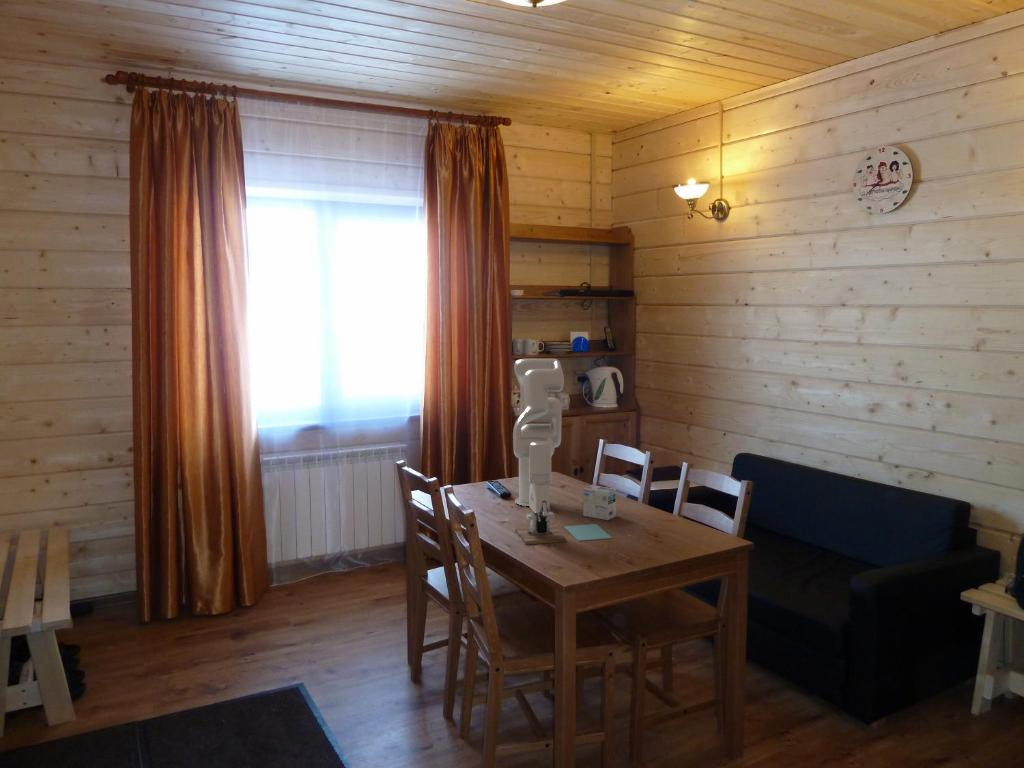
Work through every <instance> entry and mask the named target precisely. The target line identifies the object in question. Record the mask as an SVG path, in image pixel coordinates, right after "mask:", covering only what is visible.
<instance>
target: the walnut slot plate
mask: <svg viewBox="0 0 1024 768" xmlns="http://www.w3.org/2000/svg"><path fill="white" fill-rule="evenodd" d="M514 530H515V531H514V532H515V534H516V533H517V534H518V535H517V534H516V535H517V536H518V538H519V539H520V538H521V539H522V540H521V539H520V540H521V541H522V543H523V544H524V543H525V544H527V545H537V544H548V543H550V544H551V543H562V542H567V537H566V536H565V535H564V534H563V533H562V532H561V531H560V530H559V529H558V528H557V527H556V526H555V525H550V535H540V536H530V527H521V528H520V527H519V528H515V529H514ZM525 544H524V545H525Z"/></svg>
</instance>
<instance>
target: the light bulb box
mask: <svg viewBox="0 0 1024 768" xmlns="http://www.w3.org/2000/svg"><path fill="white" fill-rule="evenodd" d="M582 493H583V496H582V498H583V501H582V502H583V505H582V507H583V509H582V510H583V511H582V513H583V515H584V516H583V517H587V516H588V517H589V518H594V519H598V520H599V519H600V520H604V521H605V520H606V521H610V520H611V519H613V518H615V517H617V488H615V487H607V486H599V485H593V484H590V485H589V486H586V487H583V492H582Z"/></svg>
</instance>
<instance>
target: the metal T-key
mask: <svg viewBox="0 0 1024 768" xmlns="http://www.w3.org/2000/svg"><path fill="white" fill-rule="evenodd" d="M547 514H548V516H547V532H546V533H538V532H537V521H538V513H537V514H536V513H533V512H530V513H529V512H528V513H525V518H526V520H527V521H529V522H530V526H529V528H530V536H540V535H550V526H551V524H550V523H551V519H555V513H553V511H549V512H548V513H547ZM541 515H542V514H540V516H541Z"/></svg>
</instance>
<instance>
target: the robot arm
mask: <svg viewBox="0 0 1024 768" xmlns="http://www.w3.org/2000/svg"><path fill="white" fill-rule="evenodd" d="M513 367H514V368H513V369H514V374H515V376H516V379H517V381H518V384H519V388H520V415H519V416H518V417H517V419H516V421H515V423H514V426H513V432H512V439H513V440H512V447H513V454H514V456H515V457H516V458H517V459H518V497H517V498H515V499H514V503H515V504H516V503H517V504H519V505H518V506H520V505H522V506H521V507H526V506H529V508H530V510H532V511H533V512H532V513H536V514H537V513H538V521H537V532H538V533H546V532H547V516H548V514H547V513H548V512H550V507H551V504H550V502H551V501H550V498H551V497H550V484H551V483H552V457H553V455H554V454H555V448H559V446H560V445H561V442H562V415H563V413H562V409H563V408H562V404H561V401H560V399H559V398H557V397H549V393H559V392H562V391H563V389H564V386H565V385H564V384H565V378H564V377H565V376H564V372H563V368H562V363H561V361H560V360H559V359H557V358H550V357H549V358H521V359H520V358H519V359H517V360H516V361H515V363H514V366H513ZM517 504H516V505H517ZM540 514H542V515H541V516H540Z"/></svg>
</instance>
